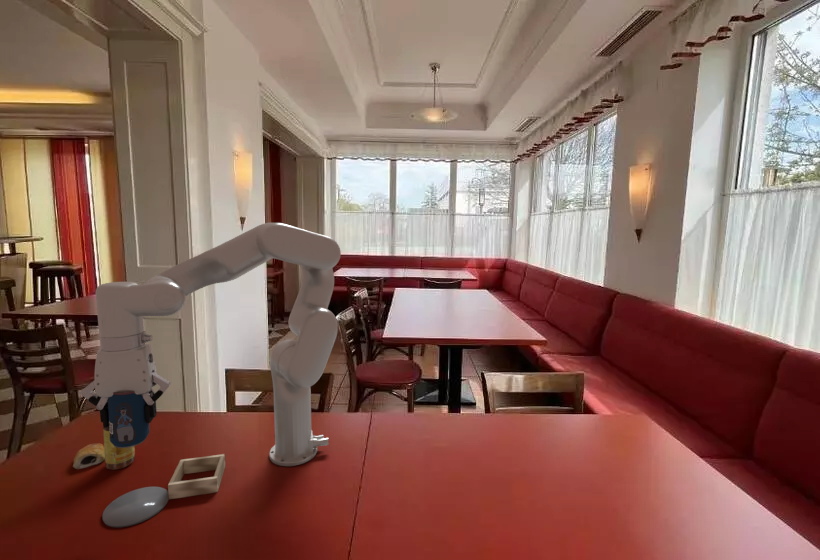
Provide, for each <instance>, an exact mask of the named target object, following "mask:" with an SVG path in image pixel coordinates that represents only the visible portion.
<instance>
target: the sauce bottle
mask: <svg viewBox="0 0 820 560" xmlns="http://www.w3.org/2000/svg"><path fill="white" fill-rule="evenodd" d="M102 432H103V446H104V453H105V460H104V463H105V468H106V469H108V470H112V471H115V470H121V469H123V468H126V467H128V466H130V465H131V464H132V463H134V460H135V455H136V449H135V447H136V446H133V447H129V448H117V447H115V446H114V445H113V444H112V443H111V442H110V434H109V426H108V427H107V428H103V430H102Z"/></svg>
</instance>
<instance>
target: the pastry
mask: <svg viewBox="0 0 820 560" xmlns="http://www.w3.org/2000/svg"><path fill="white" fill-rule="evenodd" d="M103 462H105V453H104V444H103V443H100V442H97V443H90V444H87V445H86V446H83V447H81V449H79V450H78V451H77V452H76V454H75V456H74V457H73V465H72V467H73V469H75V470H81V469H85V468H89V467H91V466H96V465H99V464H100V463H103Z"/></svg>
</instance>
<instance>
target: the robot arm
mask: <svg viewBox="0 0 820 560" xmlns="http://www.w3.org/2000/svg"><path fill="white" fill-rule="evenodd" d="M341 253H342V251H341V248H340V245H339V244H338V242H337V241H336V240H335V239H334V238H332V237H330V236H327V235H324V234H320V233H317V232H312V231H310V230H306V229H303V228H300V227H296V226H294V225H289V224H287V223H282V222H264V223H262V224H259V225H257V226H254V227H253V228H251V229H249V230H247V231H245V232H243V233H241V234H239V235H237V236H235V237H233V238H231V239H229V240H227V241H225V242H223V243H221V244H219V245H217V246H214V247H213V248H210V249H208V250H206V251H204V252H202V253H200V254H198V255H196V256H193V257H190V258H188V259H186V260H183V261H182V262H180V263H178V264H176V265H173V266H172V267H170V268H167V269H165V270H164V271H162V272H159V273H157V274H155V275H154V276H152V277H150V278H149V279H148V280H146V281H145V283H143V284H142V283H141V284H138V283H137V282H134V281H113V282H111V281H110V282H105V283H103V284H100V285H98V286H97V287H96V289H95V301H96V311H97V325H98V335H99V346H100V348H99V349H98V350H97V351H96V356H95V362H94V363H95V364H94V379H93V381H91V382H90V383H89V384H88V385H87V386H85V387H84V388H83V389H81V390H80V392H79V393H80V395H81V396H83V398H85V399H87V401H88V402H89V403H90V404H92V406H93V405H94V406H95V408H96V410H98V411H99V418H100V422H101V423H102V427H103V428H107V427H108V426H109V412H108V398H109V397H111V396H112V395H113V392H114V393H128V392H133V391H135V394H137V395H142V396H143V399H144V400H145V401H146V403H147V404H146V405H145V419H146V423H149V424H150V423H152V421H153V419H154V418H156V417H157V400H159V398H161V397H162V395H164V393H165V392H166V391H167V390H168V389H169V388H170V386H171V384H172V382H171V381H169V380H168V379H166V378H164V377H162V376H161V375H160V374H158V373H157V367H156V362H155V357H154V353H153V350H152V347H151V345H150V343H148V342H152V341H153V335H152V334H147V333H146V330H145V326H144V325H145V323H144V317H168V316H169V317H170V316H173V315H175V314H176V313H179V311H182V309H183V308H184V307H185V304H186V297H187V296H189V295H191V294H193V293H194V292H197V291H198V290H201V289H203V288H205V287H208V286H211V285H215V284H222V283H227V282H231V281H233V280H236V279H238V278H240V277H242V276H244V275H245V274H248V273H249V272H250V271H252V270H254V269H255V268H258V267H260V266H261V265H263V264H265V263H267V262H268V261H270V260H272V259H275V260H279V261H283V262H285V263H286V262H287V263H290V264H294V265H298V266H300V268H301V272H302V281H301V284H300V286H299V287H300V288H299V291H298V293H297V297H296V299H295V301H294V304H293V307H292V308H291V311H290V313H289V318H288V327H289V329H290V331H291V332H292V333H293V334H294V335H295V336H297V340H296V339H285V340H284V339H283V340H281V341H280V342H278V343H276V345H275V346H274V347H273V349H272V351H271V354H270V357H269V367H270V372H271V373H270V374H271V378H272V388H273V389H272V390H273V412H274V413H273V414H274V415H273V417H274V445H273V446H272V447H271V448H270V450H269V454H268V455H269V459H270V462H272V463H273V464H275V465H277V466H281V467H295V466H300V465H303V464H306V463H307V462H309V461H311V460H312V459H314V457H315V456H316V455H317V453H318V447H321V446H322V447H323V446H329V441H330V440H329V437H324V434H319V435H315V434H313V430H312V401H311V398H312V394H311V393H312V392H311V387H312V386H314V385H315V384H316V383H317V382H318V381H319V380H320V378H321V377H322V375H323V373H324V371H325V368H326V367H327V364H328V360H329V358H330V356H331V353H332V350H333V347H334V344H335V342H336V339H337V335H338V330H339V329H338V319H337V318H336V316H335V314H334V313H333V312H332V311H331V310H329V309H328V308H329V305H330V302H331V298H332V295H333V292H334V286H335V275H334V274H335V273H334V270H333V268H334V267H335V266H337V264H338V263H339V261H340V259H341V255H342V254H341ZM157 385H158V386H159V388H158V390H157V391H155V390H154V389H153V387H155V386H157ZM94 390H95V391H94Z"/></svg>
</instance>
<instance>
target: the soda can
mask: <svg viewBox="0 0 820 560" xmlns="http://www.w3.org/2000/svg"><path fill="white" fill-rule="evenodd" d="M146 404H147V403H146V401H145V400H144V399H143V396H142V395H137V394H135V391H133V392H128V393H114V392H113V395H112V396H111V397H109V398H108V412H109V434H110V442H111V443H112V444H113V445H114V446H115V447H117V448H129V447H133V446H135V447H136V446H138V445H140V444H142V443H144V442H145V440H146V439H147V438H148V437H149V435H150V423H146V419H145V405H146Z"/></svg>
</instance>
